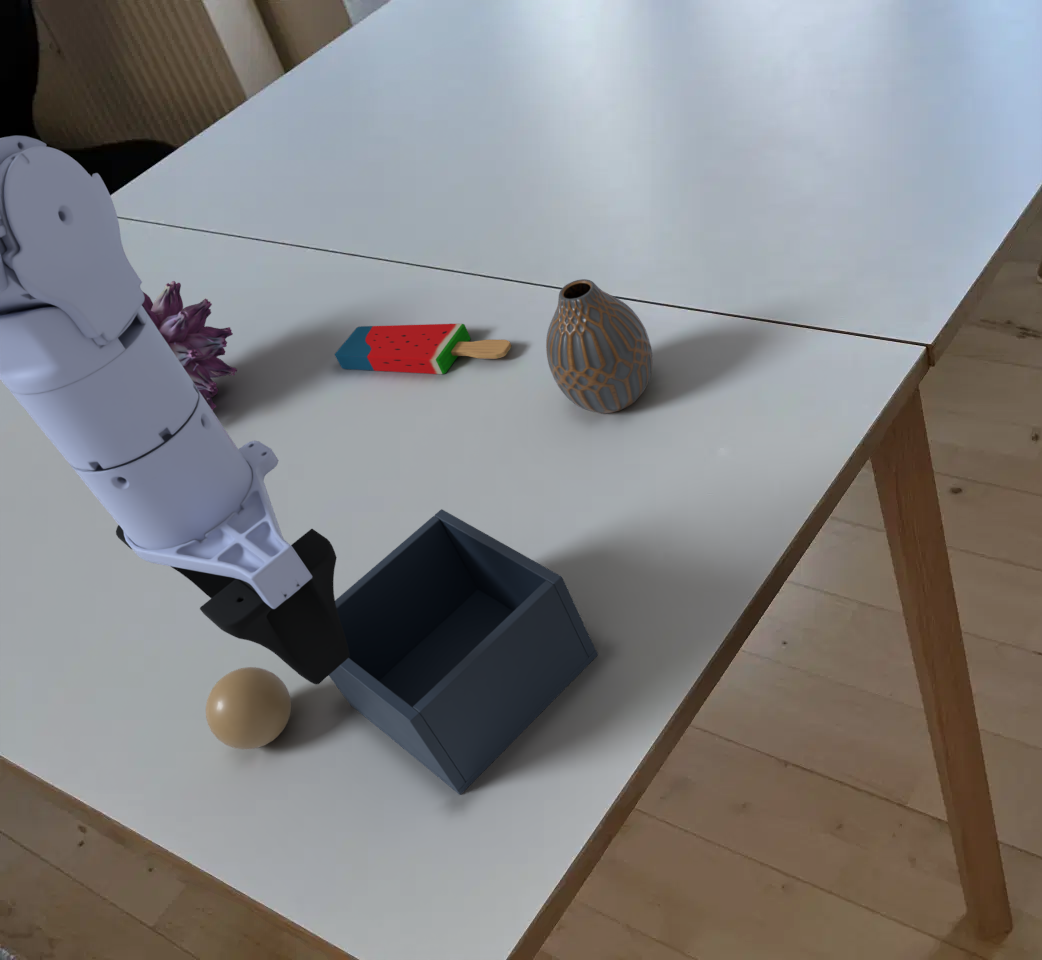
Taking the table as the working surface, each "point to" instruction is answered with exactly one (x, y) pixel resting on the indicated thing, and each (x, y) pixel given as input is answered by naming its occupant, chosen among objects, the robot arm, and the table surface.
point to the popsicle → (414, 348)
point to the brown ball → (248, 708)
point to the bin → (458, 646)
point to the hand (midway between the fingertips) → (288, 633)
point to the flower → (191, 338)
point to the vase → (597, 349)
